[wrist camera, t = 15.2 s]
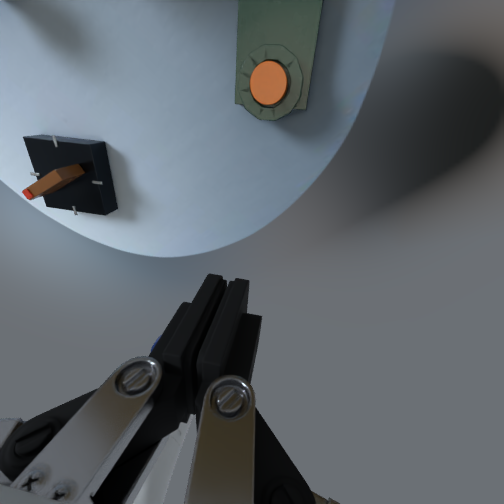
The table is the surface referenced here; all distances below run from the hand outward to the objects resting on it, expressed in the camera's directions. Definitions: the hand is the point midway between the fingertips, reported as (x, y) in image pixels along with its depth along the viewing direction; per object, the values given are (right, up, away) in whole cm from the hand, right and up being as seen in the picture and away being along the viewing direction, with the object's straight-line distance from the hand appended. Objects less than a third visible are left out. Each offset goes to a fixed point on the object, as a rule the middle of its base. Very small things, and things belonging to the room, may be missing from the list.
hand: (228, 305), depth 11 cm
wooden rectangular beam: (-25, +13, +26) cm, 39 cm away
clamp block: (-25, +14, +29) cm, 41 cm away
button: (+3, +19, +16) cm, 25 cm away
